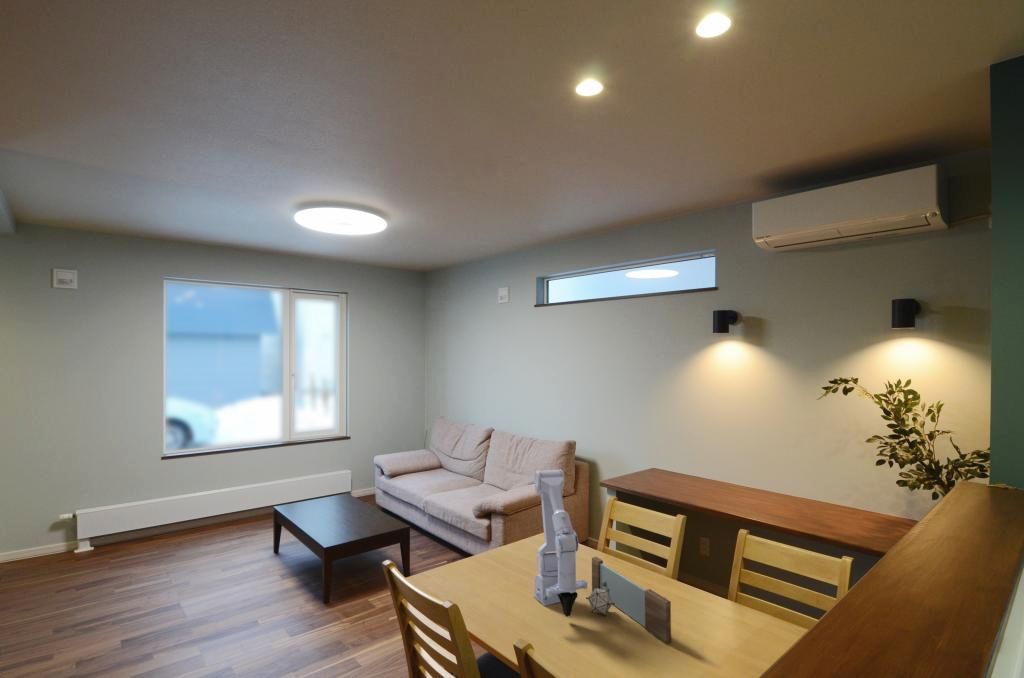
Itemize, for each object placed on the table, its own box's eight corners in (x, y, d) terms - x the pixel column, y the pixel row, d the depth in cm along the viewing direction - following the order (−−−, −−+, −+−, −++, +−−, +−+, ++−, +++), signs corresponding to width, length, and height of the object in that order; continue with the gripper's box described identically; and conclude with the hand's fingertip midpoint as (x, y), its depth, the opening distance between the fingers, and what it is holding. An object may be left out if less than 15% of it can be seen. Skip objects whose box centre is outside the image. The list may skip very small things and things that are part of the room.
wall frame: (665, 644, 150) (665, 602, 151) (592, 591, 184) (591, 557, 184) (671, 642, 151) (670, 601, 151) (596, 590, 185) (596, 556, 185)
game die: (600, 627, 166) (593, 610, 161) (586, 607, 173) (578, 590, 169) (622, 611, 168) (615, 593, 164) (607, 591, 176) (600, 574, 171)
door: (643, 628, 159) (643, 592, 159) (598, 595, 180) (597, 564, 180) (648, 626, 159) (647, 591, 160) (602, 594, 181) (602, 563, 181)
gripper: (553, 580, 157) (553, 625, 156) (592, 572, 163) (593, 615, 162) (542, 572, 163) (542, 615, 162) (580, 564, 169) (580, 605, 169)
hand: (566, 614), depth 163 cm, fingers closed
